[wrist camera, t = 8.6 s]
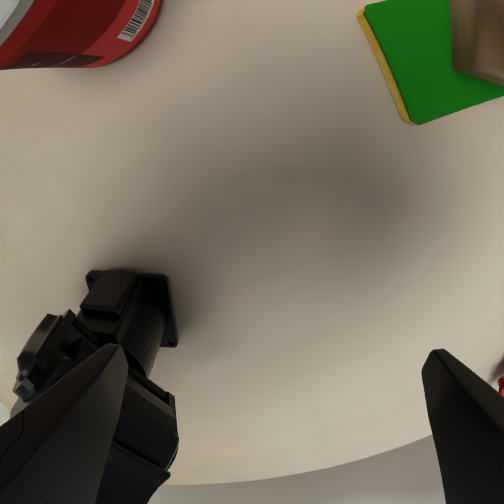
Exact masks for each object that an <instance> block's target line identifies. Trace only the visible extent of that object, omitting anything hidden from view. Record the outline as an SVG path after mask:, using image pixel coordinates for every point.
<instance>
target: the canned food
mask: <svg viewBox="0 0 504 504" xmlns="http://www.w3.org/2000/svg"><path fill="white" fill-rule="evenodd" d="M160 2H161V0H0V70H7V69H22V68H91V67H97V66H101V65H105V64H107V63H109V62H111V61H113V60H115V59H117V58H119V57H121V56H123V55H124V54H126V53H127V52H129V51H130V50H132V49H133V48H134V47H135V46H136V45H137V44H138V43H139V42H140V41H141V40H142V39H143V37H144V36H145V35H146V34H147V32H148V31H149V29H150V28H151V26H152V24H153V23H154V21H155V18H156V16H157V13H158V11H159V7H160Z"/></svg>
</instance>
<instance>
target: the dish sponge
mask: <svg viewBox="0 0 504 504" xmlns="http://www.w3.org/2000/svg"><path fill="white" fill-rule="evenodd" d="M357 19H358V21H359V23H360V25H361V27H362V29H363V31H364V33H365V35H366V37H367V39H368V41H369V43H370V45H371V47H372V49H373V51H374V53H375V55H376V58H377V60H378V62H379V64H380V66H381V69H382V71H383V73H384V75H385V78H386V80H387V83H388V85H389V87H390V90H391V92H392V95H393V97H394V100H395V102H396V105H397V108H398V110H399V113H400V116H401V118H402V119H404V120H405V121H407V122H410V123H414V124H417V125H421V124H424V123H427V122H429V121H432V120H435V119H437V118H440V117H443V116H446V115H448V114H451V113H454V112H457V111H460V110H463V109H466V108H468V107H471V106H474V105H477V104H480V103H483V102H486V101H489V100H492V99H495V98H498V97H501V96H504V87H502V86H499V85H497V84H494V83H491V82H488V81H486V80H483V79H480V78H477V77H474V76H471V75H468V74H464V73H461V72H458V71H455V70H452V45H451V24H450V11H449V1H448V0H386V1H382V2H378V3H373V4H369V5H367V6H365V7H364V8H363V9H361V10H360V11H359V13H358V16H357Z"/></svg>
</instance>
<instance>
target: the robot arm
mask: <svg viewBox="0 0 504 504" xmlns="http://www.w3.org/2000/svg"><path fill="white" fill-rule="evenodd" d="M91 277H92V278H93V279H92V278H91ZM159 281H161V282H163V283H164V284H160V283H159ZM86 282H87V286H88V289H89V293H88V295H87V296H86V297H85V299H84V300H83V302H82V303H81V304H80V309H81V310H80V311H79V313H78V314H77V315H75V314H74V313H73V312H72V311H71V310H70V309H68V310H67V311H66V312H65V313H64V314H63V315H59V316H55V315H51V314H47V315H46V316H45V317H44V319H43V320H42V321H41V323H40V324H39V325H38V327H37V328H36V329H35V331H34V332H33V334H32V335H31V336H30V338H29V339H28V341H27V343H26V344H25V346H24V348H23V349H22V351H21V353H20V354H19V356H18V358H17V363H18V369H19V372H18V374H17V377H16V379H17V380H16V383H15V385H14V388H13V392H14V393H15V394H16V395H17V396H18V397H19V398H18V400H17V402H16V403H15V405H14V406H13V408H12V410H11V413H10V419H9V420H8V421H7V422H6V423H4V424H3V425H1V426H0V504H147V503H148V501H149V499H150V498H151V496H152V495H153V494H154V492H155V491H156V490H157V489H158V487H159V486H160V485H162V484H163V483H164V482H165V481H166V480H167V479H168V478H169V477H170V475H171V474H170V472H168V471H167V470H168V469H169V468H170V466H171V465H172V463H173V461H174V459H175V457H176V454H177V451H178V444H179V437H178V431H177V420H176V409H175V397H174V396H173V395H172V394H171V393H169V392H166V391H164V390H163V389H161V388H160V387H159V386H157V385H156V384H155V383H153V382H152V381H151V380H149V379H148V378H149V375H150V372H151V369H152V367H153V364H154V361H155V358H156V355H157V352H158V349H159V347H171V348H174V347H176V346H177V345H178V335H177V329H176V323H175V317H174V311H173V305H172V298H171V292H170V285H169V280H168V278H167V277H166V276H164V275H153V274H137V273H135V272H118V271H105V272H101V271H90V272H88V274H87V275H86ZM75 316H76V317H75ZM171 341H173V342H171ZM422 381H423V386H424V392H425V398H426V405H427V412H428V417H429V422H430V426H431V430H432V434H433V438H434V443H435V447H436V451H437V456H438V461H439V466H440V471H441V476H442V482H443V487H444V493H445V500H446V504H504V397H503V396H502V395H501V394H500V393H499V392H497V391H496V390H495V389H494V388H493V387H491V386H490V385H489V384H488V383H486V382H485V381H484V380H483V379H482V378H480V377H479V376H478V375H477V374H475V373H474V372H473V371H472V370H470V369H469V368H468V367H467V366H465V365H464V364H463V363H462V362H460V361H459V360H458V359H457V358H455V357H454V356H453V355H451V354H450V353H449V352H448V351H446V350H445V349H434V350H432V351H431V352H430V354H429V356H428V358H427V360H426V362H425V364H424V366H423V368H422Z"/></svg>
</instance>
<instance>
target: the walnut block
mask: <svg viewBox="0 0 504 504" xmlns="http://www.w3.org/2000/svg"><path fill="white" fill-rule="evenodd" d="M448 1H449V11H450V24H451V45H452V70H455V71H458V72H461V73H464V74H468V75H471V76H474V77H477V78H480V79H483V80H486V81H488V82H491V83H494V84H497V85H499V86H502V87H504V0H448Z"/></svg>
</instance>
